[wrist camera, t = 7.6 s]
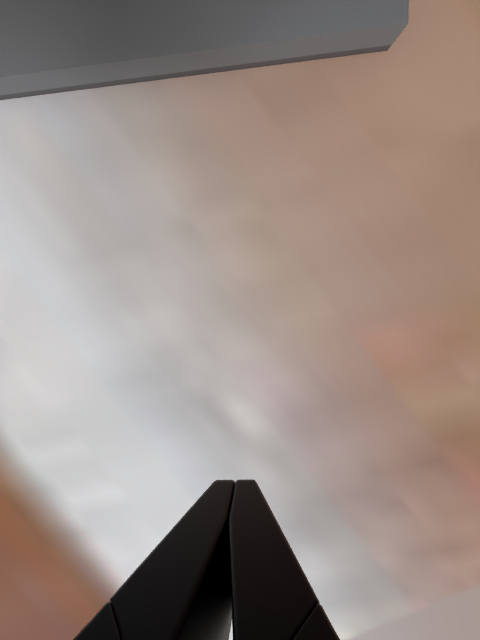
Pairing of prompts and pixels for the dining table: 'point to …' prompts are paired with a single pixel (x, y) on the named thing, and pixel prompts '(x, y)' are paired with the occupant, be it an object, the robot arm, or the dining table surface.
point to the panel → (178, 38)
